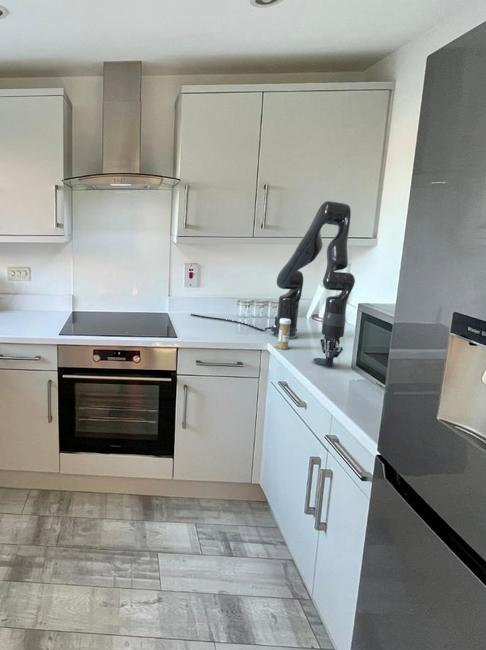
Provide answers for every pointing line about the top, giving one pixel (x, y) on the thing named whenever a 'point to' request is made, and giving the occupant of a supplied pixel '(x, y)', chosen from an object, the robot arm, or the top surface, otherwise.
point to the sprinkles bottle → (284, 333)
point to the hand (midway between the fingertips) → (328, 366)
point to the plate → (319, 361)
